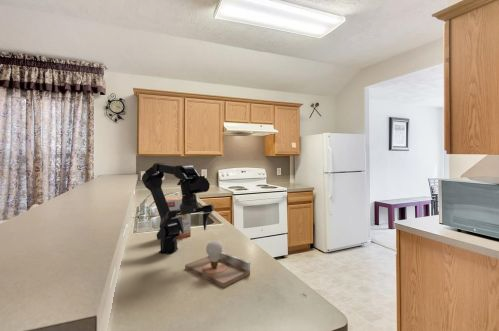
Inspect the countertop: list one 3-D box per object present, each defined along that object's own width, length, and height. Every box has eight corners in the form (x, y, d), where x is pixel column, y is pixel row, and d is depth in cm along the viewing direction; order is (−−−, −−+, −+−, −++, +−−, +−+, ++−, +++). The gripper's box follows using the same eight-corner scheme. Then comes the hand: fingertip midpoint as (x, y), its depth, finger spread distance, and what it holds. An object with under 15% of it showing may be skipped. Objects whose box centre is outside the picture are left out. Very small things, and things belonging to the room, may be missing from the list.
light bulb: (204, 266, 97) (204, 239, 97) (219, 263, 100) (219, 237, 100) (209, 272, 92) (208, 244, 92) (224, 269, 95) (224, 242, 94)
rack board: (185, 268, 99) (184, 257, 99) (211, 258, 109) (211, 248, 109) (223, 287, 84) (223, 274, 84) (250, 274, 94) (250, 262, 94)
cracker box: (164, 240, 133) (163, 200, 132) (162, 237, 138) (161, 198, 137) (191, 236, 139) (190, 198, 138) (188, 233, 145) (187, 196, 144)
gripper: (160, 199, 100) (165, 239, 99) (207, 191, 100) (213, 232, 99) (169, 197, 111) (174, 233, 110) (211, 190, 111) (217, 227, 110)
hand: (194, 231), depth 107 cm, fingers open, 9 cm apart
